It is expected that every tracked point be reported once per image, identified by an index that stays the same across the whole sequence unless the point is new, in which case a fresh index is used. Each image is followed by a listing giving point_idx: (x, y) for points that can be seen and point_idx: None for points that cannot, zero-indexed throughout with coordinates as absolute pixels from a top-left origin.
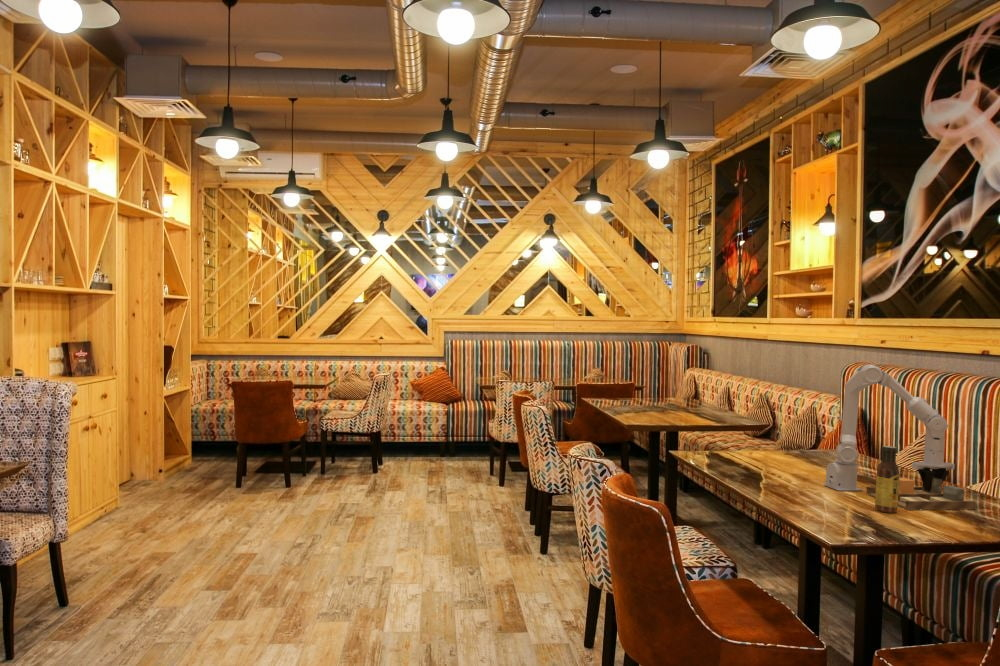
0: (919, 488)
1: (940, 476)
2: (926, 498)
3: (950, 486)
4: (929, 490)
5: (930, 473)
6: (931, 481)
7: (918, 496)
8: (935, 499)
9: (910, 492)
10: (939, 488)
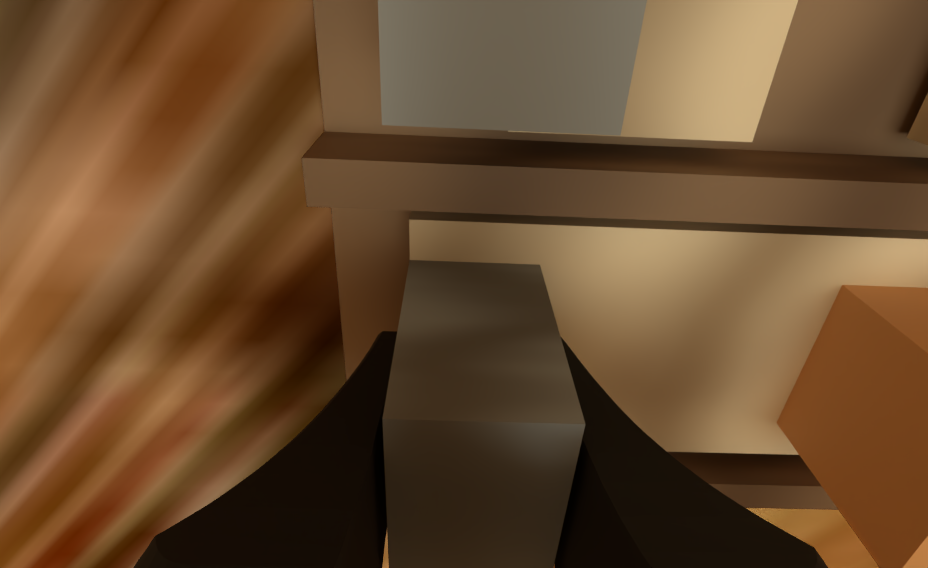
0: None
1: (367, 511)
2: (765, 157)
3: (531, 8)
4: None
5: (770, 551)
6: None
7: (918, 174)
8: (786, 10)
9: (909, 301)
10: (446, 309)
